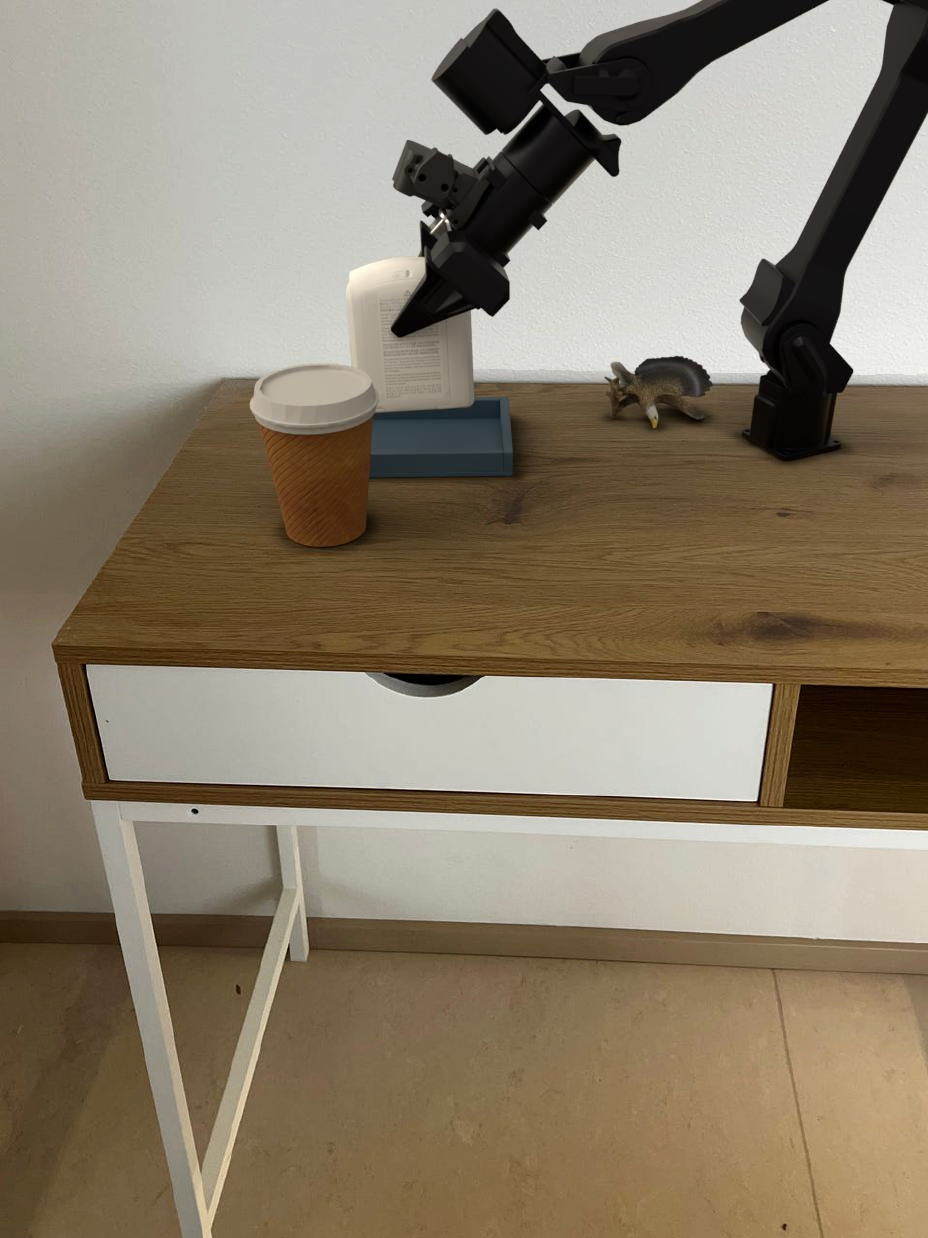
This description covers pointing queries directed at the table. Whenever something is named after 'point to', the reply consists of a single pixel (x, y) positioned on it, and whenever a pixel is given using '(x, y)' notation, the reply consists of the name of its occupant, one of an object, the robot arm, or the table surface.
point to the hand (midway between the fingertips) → (393, 324)
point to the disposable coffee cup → (318, 448)
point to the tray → (444, 441)
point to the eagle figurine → (659, 385)
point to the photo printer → (406, 342)
